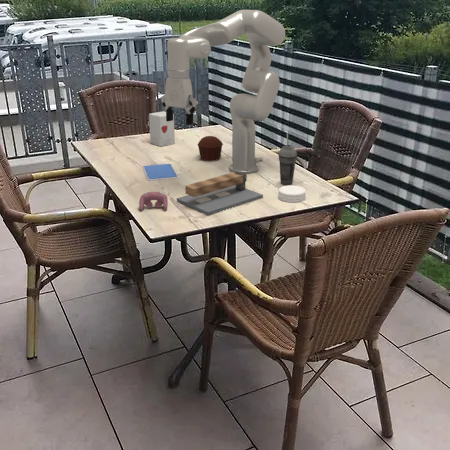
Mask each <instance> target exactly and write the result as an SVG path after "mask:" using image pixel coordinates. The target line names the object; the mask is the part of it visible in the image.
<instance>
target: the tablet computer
mask: <svg viewBox="0 0 450 450" xmlns="http://www.w3.org/2000/svg"><path fill="white" fill-rule="evenodd" d="M142 169H143V172H144V174H145V177H146V179H147V181H148V182H153V181H155V182H157V181H164V180H165V181H167V180H176V179H179V176H178V173H177V171H176V170H175V168H174V166H173V164H172V163H163V164H151V165H143V166H142Z"/></svg>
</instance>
